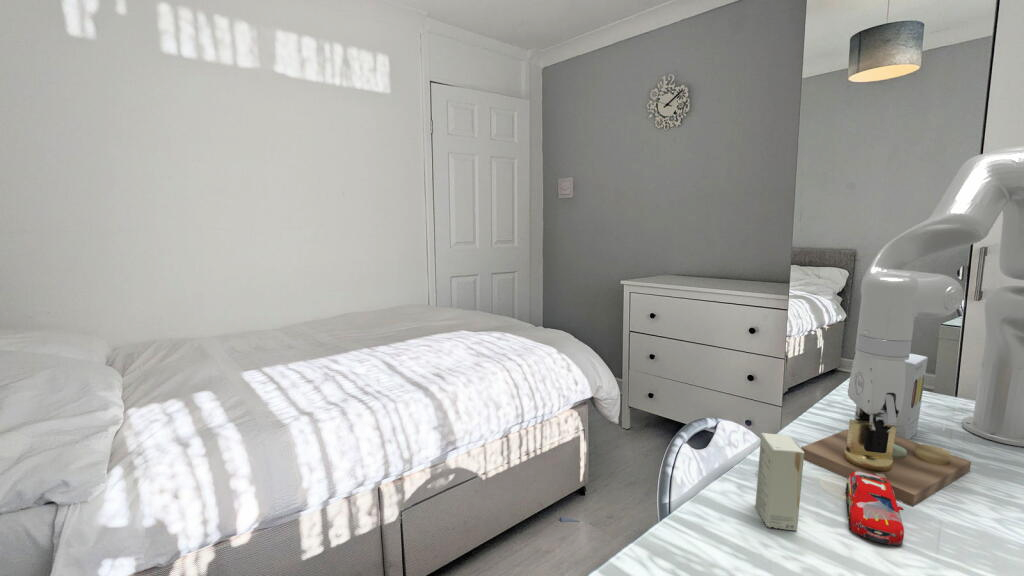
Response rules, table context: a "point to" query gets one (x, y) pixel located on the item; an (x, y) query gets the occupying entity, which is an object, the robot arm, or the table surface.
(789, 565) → the table surface
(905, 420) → the supplement box
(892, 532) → the race car
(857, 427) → the wing knob
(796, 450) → the skincare box
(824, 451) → the brown flat rectangular board
